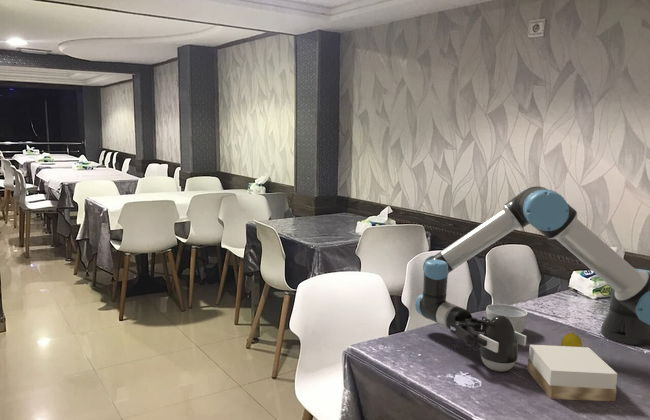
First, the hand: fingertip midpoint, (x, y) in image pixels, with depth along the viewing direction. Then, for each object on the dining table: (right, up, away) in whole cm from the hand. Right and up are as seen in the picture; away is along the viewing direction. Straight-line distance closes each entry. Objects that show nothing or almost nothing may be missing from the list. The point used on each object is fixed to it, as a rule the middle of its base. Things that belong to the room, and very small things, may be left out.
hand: (511, 344), depth 142 cm
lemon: (+22, -8, +13) cm, 26 cm away
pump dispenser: (-2, -8, +5) cm, 10 cm away
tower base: (+14, -10, -4) cm, 17 cm away
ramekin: (+10, -4, +34) cm, 36 cm away
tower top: (+14, -6, -5) cm, 16 cm away
